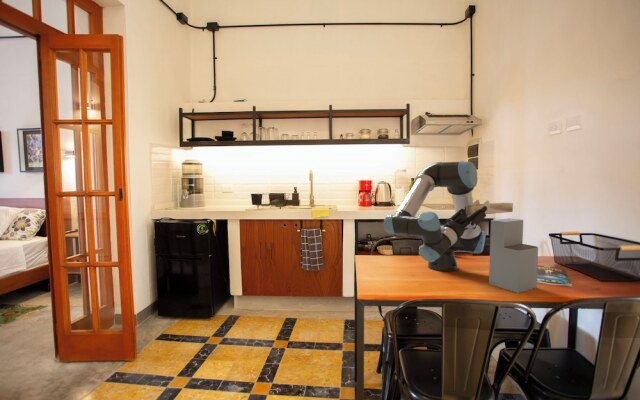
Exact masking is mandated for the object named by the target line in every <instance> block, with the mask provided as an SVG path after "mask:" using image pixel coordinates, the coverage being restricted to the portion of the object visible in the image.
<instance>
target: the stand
mask: <svg viewBox="0 0 640 400" xmlns="http://www.w3.org/2000/svg"><path fill="white" fill-rule="evenodd" d="M489 235H490V240H489V241H490V242H489V243H490V244H489V267H488V269H489V270H488V271H489V272H488V285H490V286H494V287H498V288H501V289H504V290H506V291H507V290H508V291H511V292H513V293H516V294H519V293H523V292H526V291H530V290H533V288H534V289H536V288H537V287H538V286H537V284H538V283H537V282H538V262H539V261H538V260H539V247H538V246H537V245H531V244H526V243H525V244H524V242H523V240H524V239H523V237H524V219H521V218H518V219H517V218H511V217H510V218H509V217H508V218H500V219H491V220H490V234H489Z"/></svg>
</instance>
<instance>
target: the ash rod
mask: <svg viewBox="0 0 640 400" xmlns="http://www.w3.org/2000/svg"><path fill="white" fill-rule="evenodd" d="M489 203H490V202H489ZM483 204H484V203H480V204H473V205H466V214H467V215H472V214H473V213H475V212H476V211H478V208H479V207H480V206H481V205H483ZM513 210H514V203H513V202H494V203H493V202H492V203H490V207H489V208H488V209H487V210H486V211H485V214H486V215H492V214H493V215H494V214H503V213H504V214H505V213H513Z"/></svg>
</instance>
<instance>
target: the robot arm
mask: <svg viewBox="0 0 640 400" xmlns="http://www.w3.org/2000/svg"><path fill="white" fill-rule="evenodd" d="M413 183H414V184H413V185H412V187H410V190H409V191H408V193H407V195H406V196H405V198H404V200H403V201H402V203H401V204H400V205H399V207H398V208H397V210H396V212H395V213H394V214H388V215H386V216H385V218H384V219H383V227H384V228H383V229H384V231H385V232H386V233H388V234H394V235H401V236H412V237H421V239H422V240H421V241H422V244H421V245H420V247H419V248H418V253H419V255H420V257H422V258H423V260H425V261H427V267H428V268H429V269H431V270H435V271H440V272H455V271H456V270H458V262H457V260H456V259H457V258H456V256H455V251H457V252H462V253H463V252H464V253H470V254H481V253H483V251H484V248H485V244H486V243H485V242H486V235H487V234H486V231H483V230H482V229H481V227H480V226H479V224H480V223H481V222H482V221H483V220H484V219H485V218H486V217H487V214H485V211H486V210H487V209H488V208H489V207H490V200H486V201H485V202H483V203H482V204H483V205H481V206H480V207H479V208H478V211H476V212H475V213H473V214H472V215H467V214H466V205H473V204H481V203H480V200H479V199H476V200H475V201H474V199H473V194H472V192H473V191H474V189H475V187H476V186H477V185H478V171H477V168H476V166H475V164H474V163H473V162H471V161H464V160H461V161H443V162H442V161H439V162H433V163H431V164H429V165H426V167H424V168H422V170H420V171H419V172H418V173H417V175H416V176H415V178H414V182H413ZM435 188H446V189H447V193H449V194H450V195H451V196H452V201H453V203H452V204H453V207H454V212H455V213H454V214H453V215H452V216H451V217H449V218H447V219H446V220H445V221H446V222H447V223H445V224H444V225H441V222H440V219H439V215H438V214H437V213H436V212H433V211H428V210H427V211H426V212H425V211H423V212H421V213H420V214H419V215H418V216H416V215H417V214H418V212H419V211H420V209H421V206H422V205H423V203H424V201H425V200H426V198H427V196H428V194H429V193H430V192H432V191H433V190H434V189H435ZM454 250H455V251H454Z"/></svg>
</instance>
